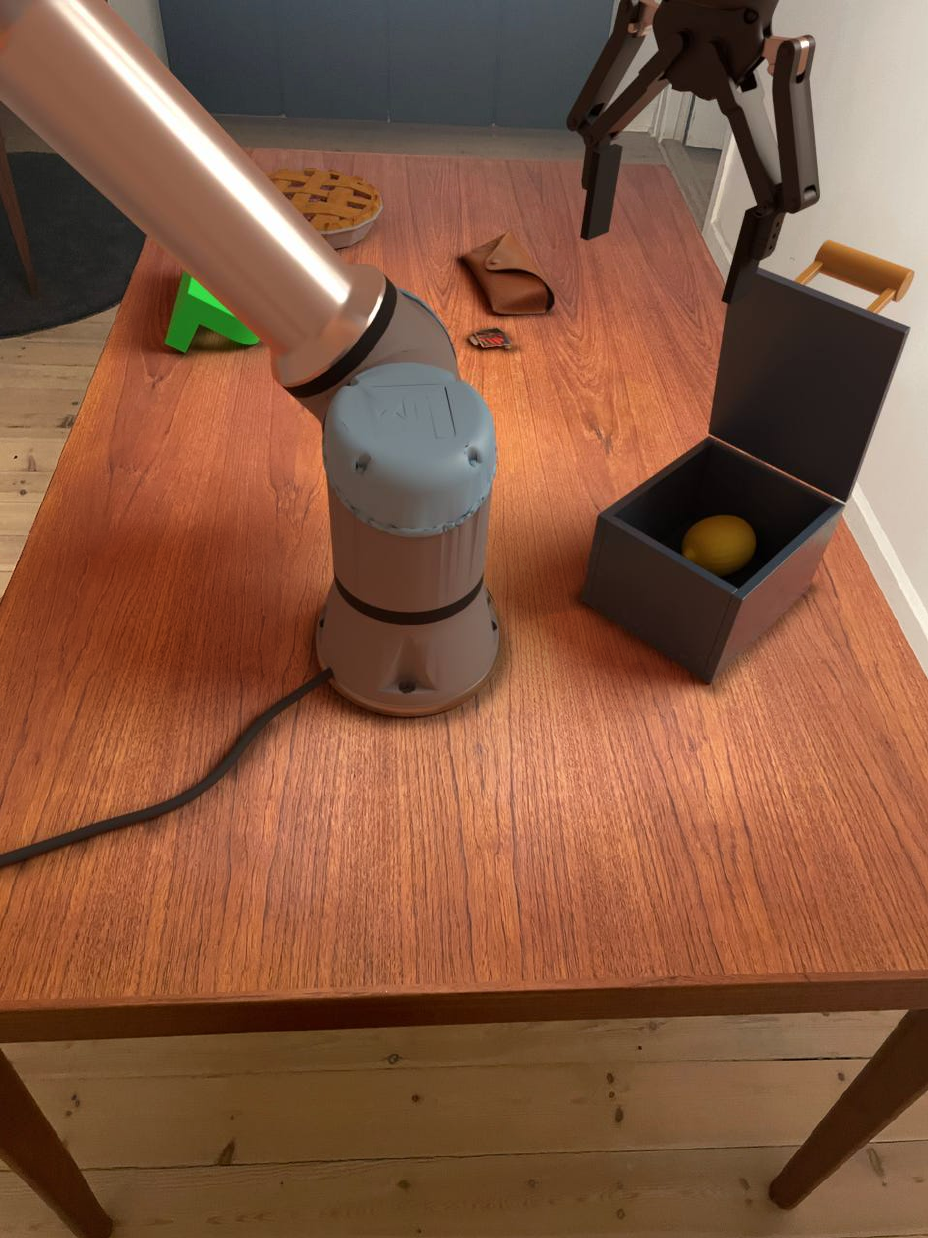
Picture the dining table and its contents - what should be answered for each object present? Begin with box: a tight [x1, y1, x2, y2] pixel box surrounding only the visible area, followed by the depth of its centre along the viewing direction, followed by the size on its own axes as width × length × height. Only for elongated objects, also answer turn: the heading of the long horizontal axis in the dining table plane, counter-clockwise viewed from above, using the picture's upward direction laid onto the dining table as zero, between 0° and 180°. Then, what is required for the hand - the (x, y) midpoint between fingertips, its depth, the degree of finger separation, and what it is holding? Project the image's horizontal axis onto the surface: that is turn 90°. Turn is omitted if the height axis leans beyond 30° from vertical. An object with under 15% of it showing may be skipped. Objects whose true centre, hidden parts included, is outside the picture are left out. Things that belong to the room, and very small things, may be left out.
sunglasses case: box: [460, 228, 556, 316], centre depth 123 cm, size 18×7×7 cm, turn 16°
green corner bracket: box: [164, 269, 261, 354], centre depth 113 cm, size 20×10×7 cm, turn 5°
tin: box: [580, 435, 846, 685], centre depth 79 cm, size 17×14×10 cm
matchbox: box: [468, 327, 514, 350], centre depth 113 cm, size 5×5×1 cm
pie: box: [262, 167, 384, 250], centre depth 132 cm, size 22×22×5 cm
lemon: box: [681, 515, 756, 578], centre depth 82 cm, size 6×6×8 cm
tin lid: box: [707, 239, 915, 504], centre depth 74 cm, size 18×14×9 cm
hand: (661, 265), depth 70 cm, fingers open, 13 cm apart
